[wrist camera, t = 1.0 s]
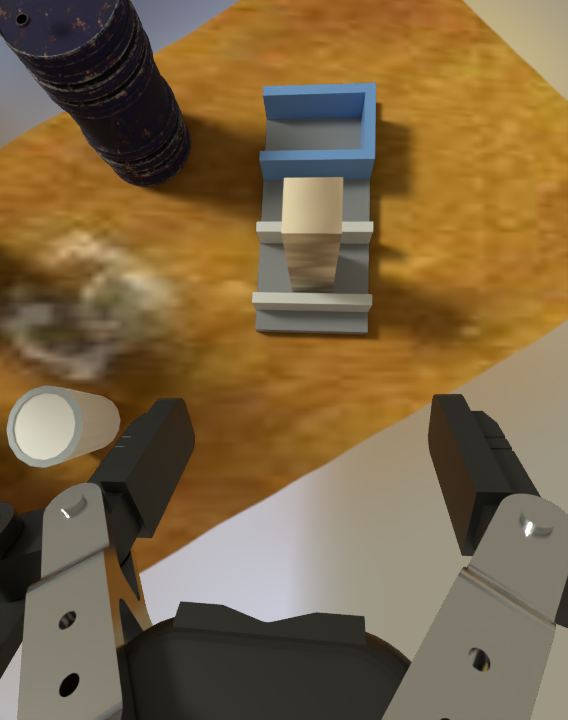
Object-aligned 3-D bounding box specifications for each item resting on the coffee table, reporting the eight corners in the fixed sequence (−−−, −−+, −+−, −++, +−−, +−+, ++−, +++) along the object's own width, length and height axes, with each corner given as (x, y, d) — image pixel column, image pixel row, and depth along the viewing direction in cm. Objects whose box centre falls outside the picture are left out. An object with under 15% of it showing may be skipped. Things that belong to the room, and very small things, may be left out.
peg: (292, 290, 36) (281, 233, 24) (293, 252, 36) (283, 177, 24) (332, 291, 35) (341, 233, 23) (333, 253, 36) (343, 177, 24)
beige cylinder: (76, 381, 38) (23, 375, 31) (135, 400, 37) (94, 398, 30) (53, 444, 37) (-7, 453, 30) (112, 465, 36) (65, 479, 29)
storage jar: (167, 92, 41) (55, -146, 23) (207, 156, 40) (121, -46, 22) (93, 137, 41) (-74, -67, 23) (131, 203, 40) (-16, 39, 22)
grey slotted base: (257, 331, 37) (249, 322, 32) (269, 103, 40) (264, 68, 36) (365, 334, 36) (372, 325, 31) (369, 100, 39) (376, 64, 35)
